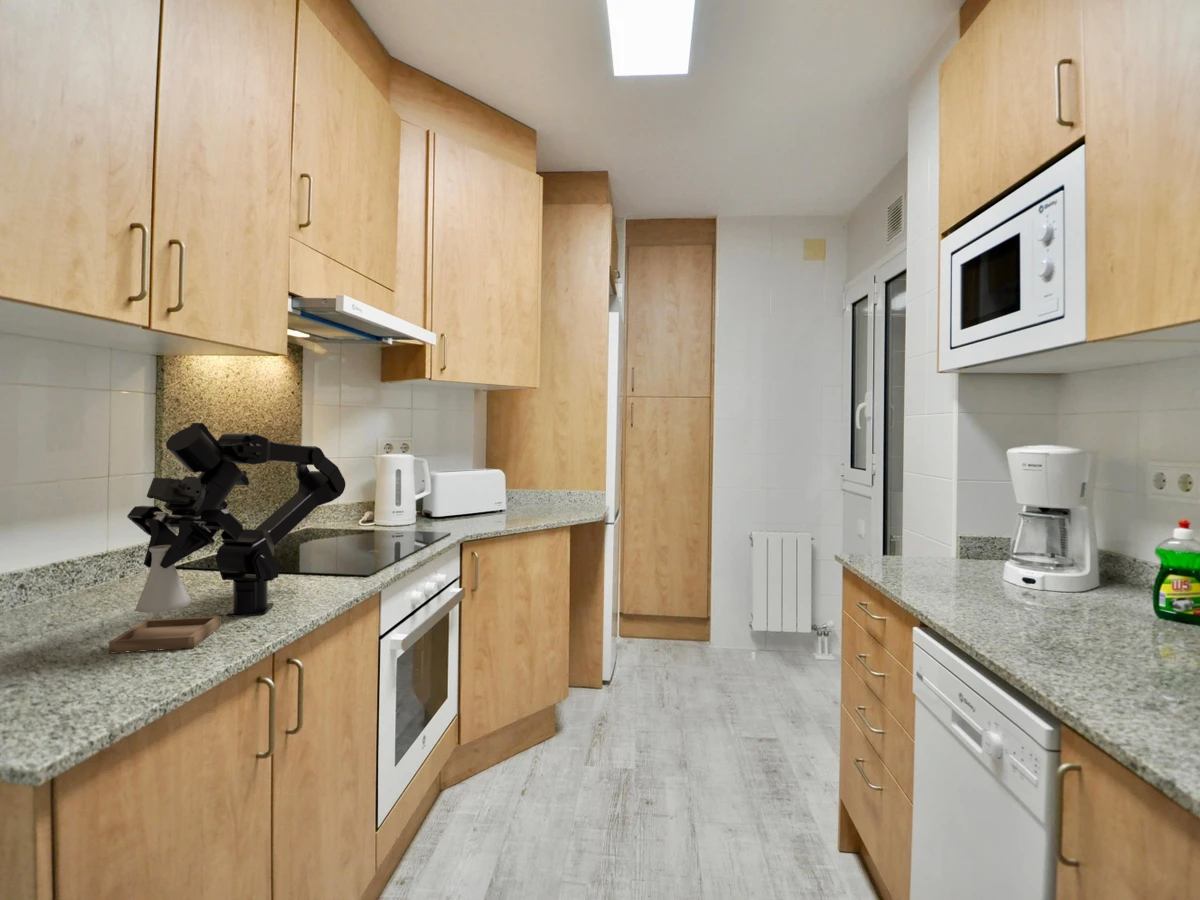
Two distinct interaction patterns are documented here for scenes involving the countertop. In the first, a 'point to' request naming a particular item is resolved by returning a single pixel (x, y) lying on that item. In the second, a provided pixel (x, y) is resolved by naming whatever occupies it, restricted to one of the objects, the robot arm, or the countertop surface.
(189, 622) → the walnut tray
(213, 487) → the robot arm
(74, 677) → the countertop surface
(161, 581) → the flask
